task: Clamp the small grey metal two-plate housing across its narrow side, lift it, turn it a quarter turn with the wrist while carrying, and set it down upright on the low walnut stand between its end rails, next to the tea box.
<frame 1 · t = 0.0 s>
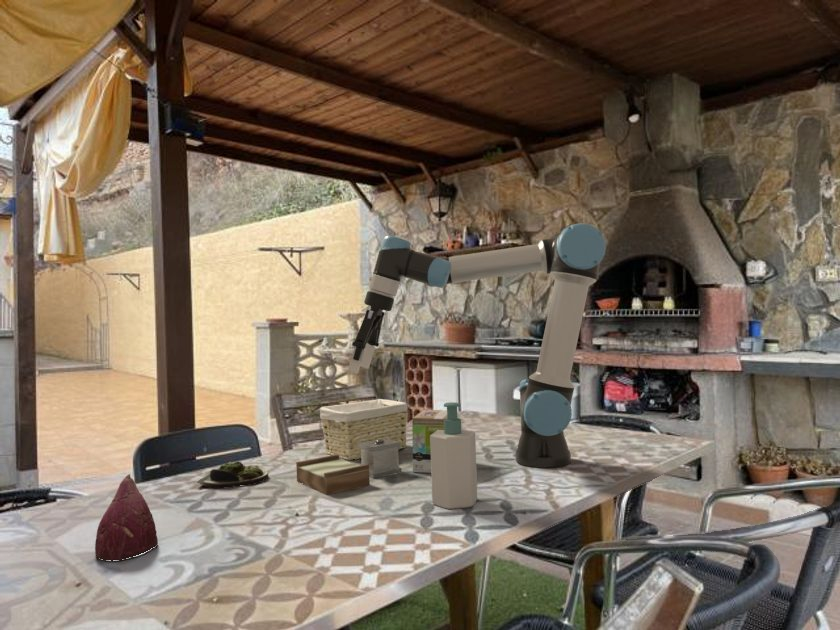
hand: (358, 369, 160), 28 cm above the table, tool tilted 20°, fingers open, 13 cm apart
tea box: (435, 467, 166), on the table
vegetable: (126, 551, 111), on the table
housing: (380, 473, 161), on the table
storage basket: (365, 452, 187), on the table
stand: (332, 483, 152), on the table
salad plate: (233, 481, 159), on the table
soap bottle: (455, 503, 133), on the table
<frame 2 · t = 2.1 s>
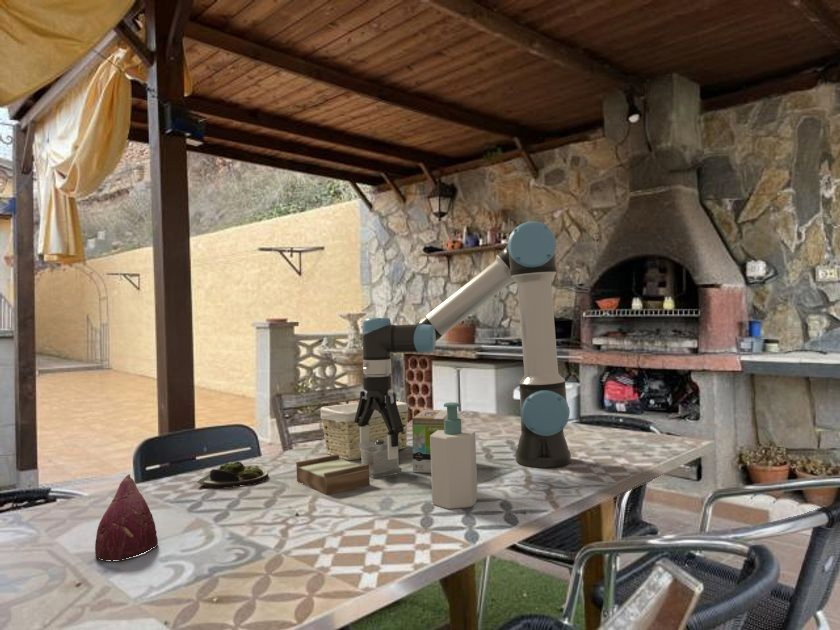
hand: (378, 454, 161), 5 cm above the table, tool pointing down, fingers open, 13 cm apart
nothing on the table moved.
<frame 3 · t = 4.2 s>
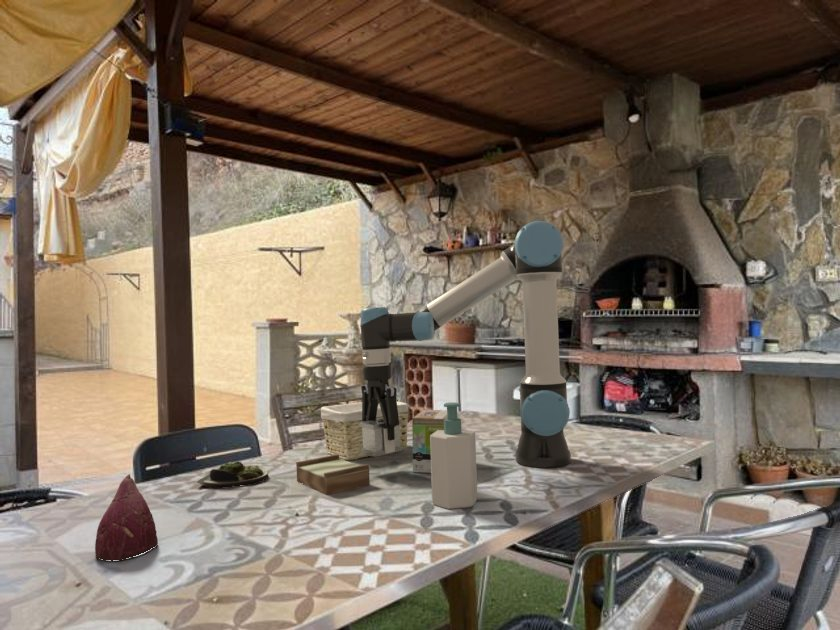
hand: (381, 450, 161), 6 cm above the table, tool pointing down, fingers closed on housing, 7 cm apart
housing: (382, 451, 161), point 6 cm above the table, touching gripper
everything else where it was.
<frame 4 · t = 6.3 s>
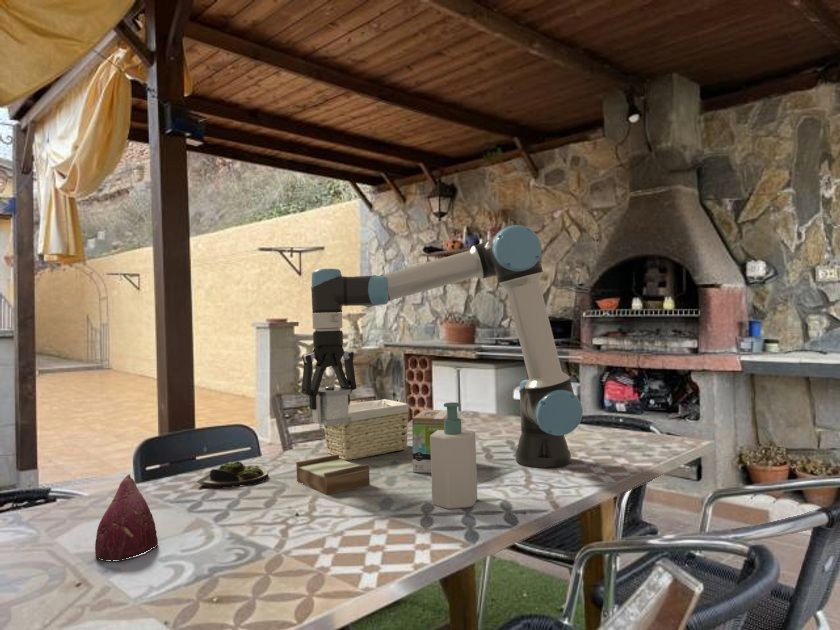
hand: (330, 420, 152), 16 cm above the table, tool pointing down, fingers closed on housing, 7 cm apart
housing: (330, 421, 152), point 16 cm above the table, touching gripper
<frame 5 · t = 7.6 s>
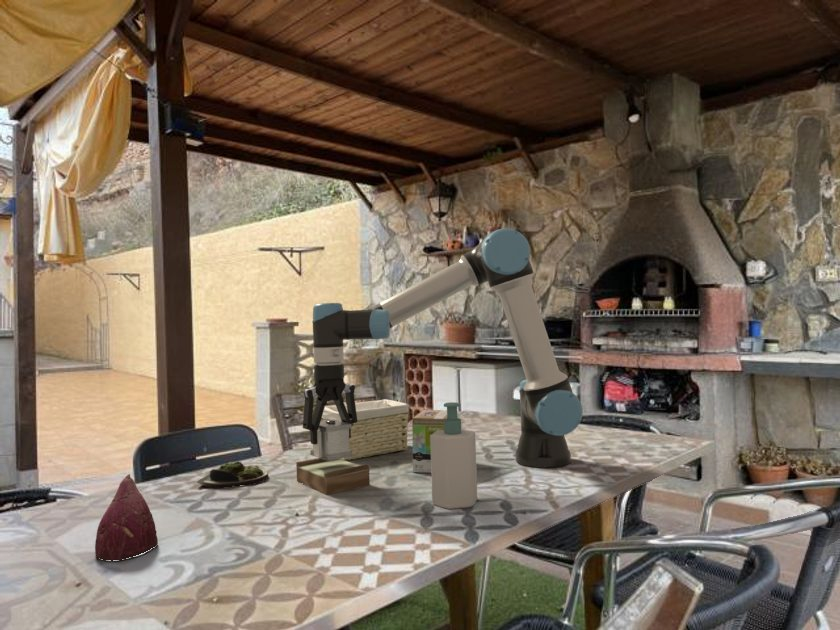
hand: (331, 454, 152), 7 cm above the table, tool pointing down, fingers closed on housing, 7 cm apart
housing: (331, 455, 152), point 7 cm above the table, touching gripper
when the fingers open (5 cm above the table, at t = 8.5 s): housing stays where it is, resting on stand.
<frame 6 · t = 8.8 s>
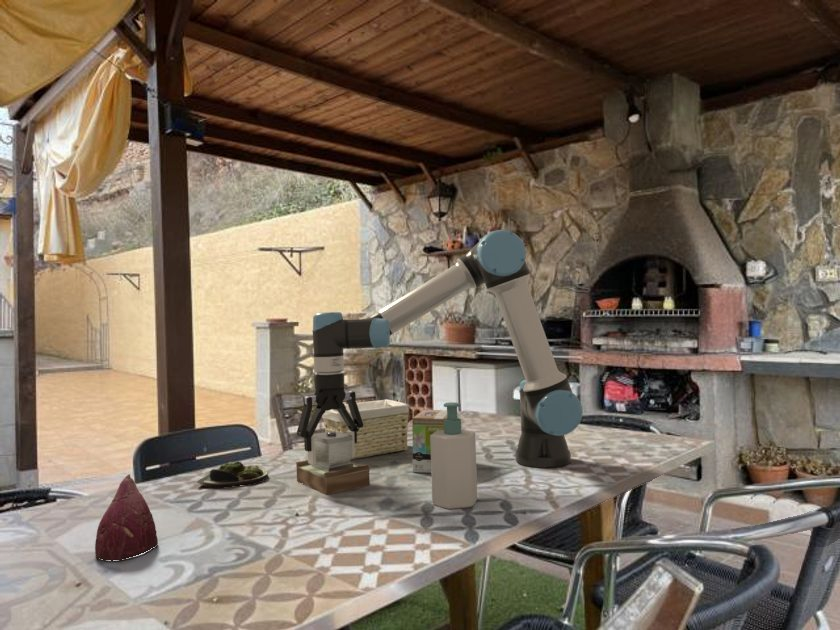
hand: (331, 460, 152), 6 cm above the table, tool pointing down, fingers open, 10 cm apart
housing: (332, 467, 152), point 4 cm above the table, touching stand
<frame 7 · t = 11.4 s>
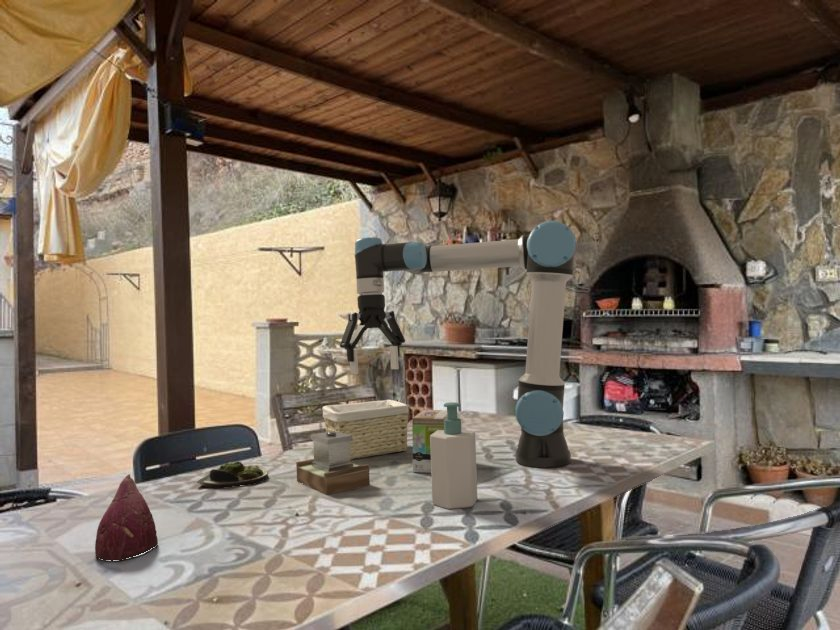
hand: (375, 371, 165), 27 cm above the table, tool pointing down, fingers open, 13 cm apart
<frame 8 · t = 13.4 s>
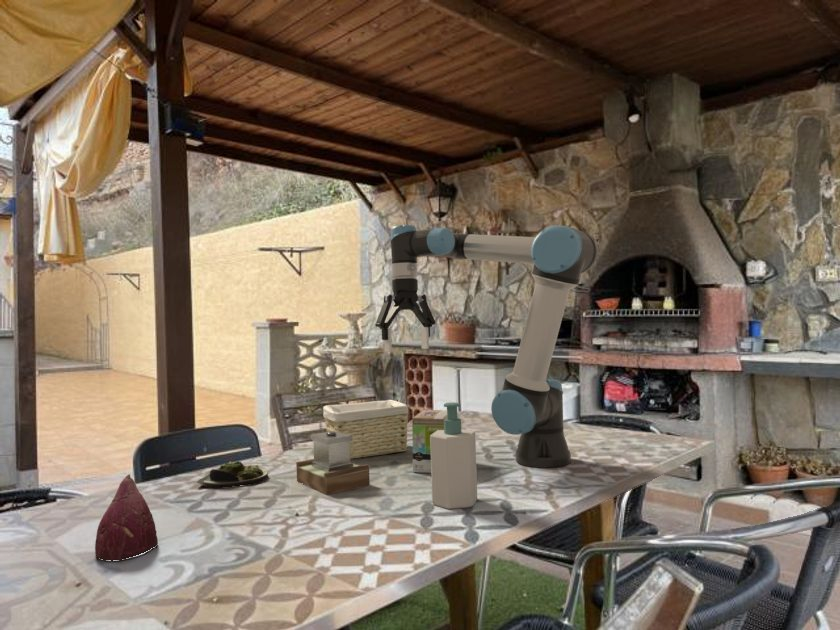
hand: (407, 350, 177), 32 cm above the table, tool pointing down, fingers open, 13 cm apart
at the end: housing inside the target area on the stand (0.1 cm from its centre), point 4.0 cm above the stand's base; housing tilted 0°; the gripper is holding nothing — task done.
